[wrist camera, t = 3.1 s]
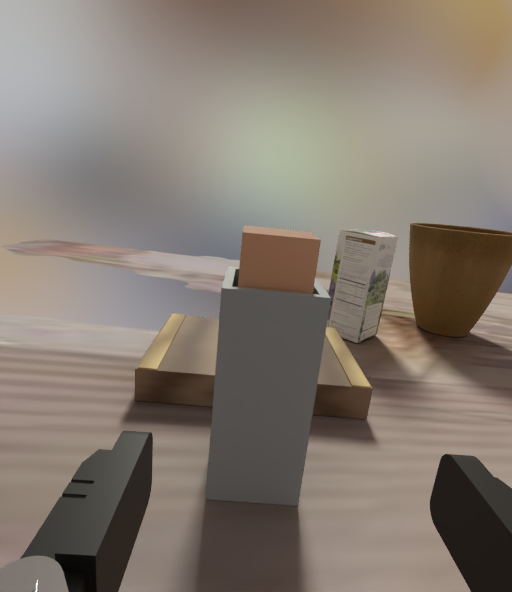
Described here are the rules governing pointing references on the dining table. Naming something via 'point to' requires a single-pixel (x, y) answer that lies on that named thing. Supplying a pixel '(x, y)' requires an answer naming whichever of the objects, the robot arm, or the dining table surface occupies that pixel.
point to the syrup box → (360, 282)
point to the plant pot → (455, 274)
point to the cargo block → (278, 259)
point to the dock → (202, 363)
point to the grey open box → (264, 391)
